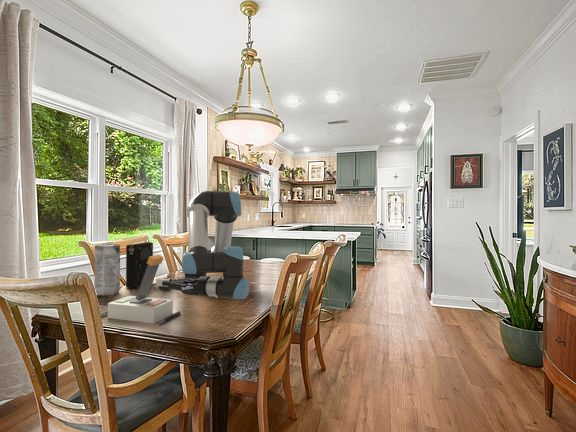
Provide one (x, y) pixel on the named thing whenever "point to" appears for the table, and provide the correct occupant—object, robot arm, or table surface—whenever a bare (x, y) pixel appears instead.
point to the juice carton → (107, 269)
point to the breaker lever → (149, 276)
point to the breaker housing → (140, 309)
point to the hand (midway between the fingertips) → (157, 282)
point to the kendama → (162, 286)
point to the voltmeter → (137, 263)
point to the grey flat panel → (158, 321)
